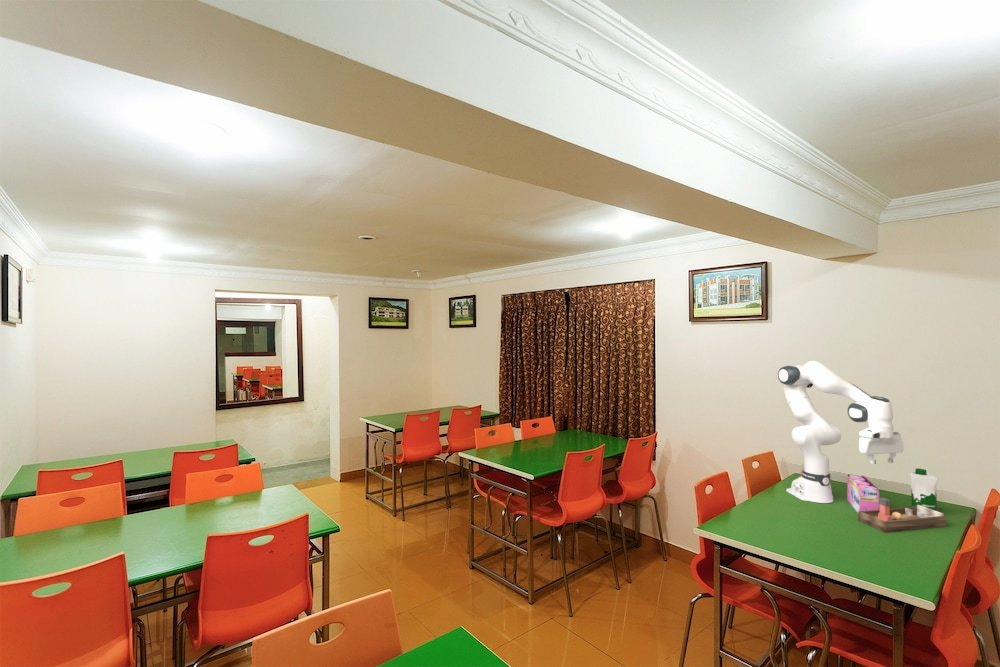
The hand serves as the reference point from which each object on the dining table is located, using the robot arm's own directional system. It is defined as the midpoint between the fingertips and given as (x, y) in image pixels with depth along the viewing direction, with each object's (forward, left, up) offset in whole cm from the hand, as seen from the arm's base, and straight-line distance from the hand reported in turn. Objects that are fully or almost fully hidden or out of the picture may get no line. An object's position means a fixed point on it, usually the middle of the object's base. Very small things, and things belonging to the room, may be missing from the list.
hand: (881, 463), depth 216 cm
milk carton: (-9, +33, -28) cm, 45 cm away
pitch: (+1, +9, -28) cm, 30 cm away
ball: (+1, +7, -24) cm, 25 cm away
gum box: (-19, +9, -29) cm, 35 cm away
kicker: (+1, 0, -26) cm, 26 cm away
